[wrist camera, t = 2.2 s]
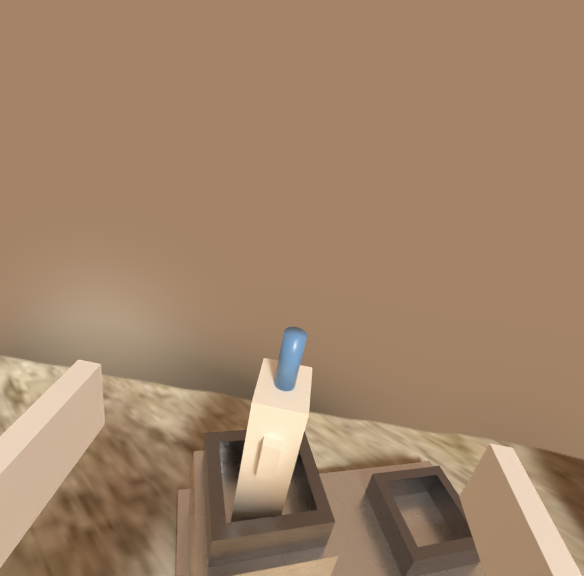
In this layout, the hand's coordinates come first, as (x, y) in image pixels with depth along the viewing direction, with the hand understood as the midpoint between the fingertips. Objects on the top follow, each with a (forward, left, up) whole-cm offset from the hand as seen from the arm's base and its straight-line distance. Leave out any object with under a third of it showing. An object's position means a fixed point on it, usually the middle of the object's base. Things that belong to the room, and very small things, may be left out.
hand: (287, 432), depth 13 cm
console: (+8, +13, -28) cm, 32 cm away
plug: (0, +10, -18) cm, 21 cm away
